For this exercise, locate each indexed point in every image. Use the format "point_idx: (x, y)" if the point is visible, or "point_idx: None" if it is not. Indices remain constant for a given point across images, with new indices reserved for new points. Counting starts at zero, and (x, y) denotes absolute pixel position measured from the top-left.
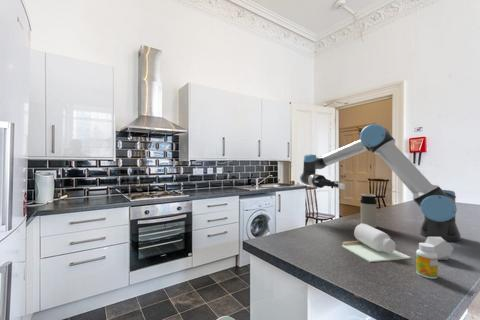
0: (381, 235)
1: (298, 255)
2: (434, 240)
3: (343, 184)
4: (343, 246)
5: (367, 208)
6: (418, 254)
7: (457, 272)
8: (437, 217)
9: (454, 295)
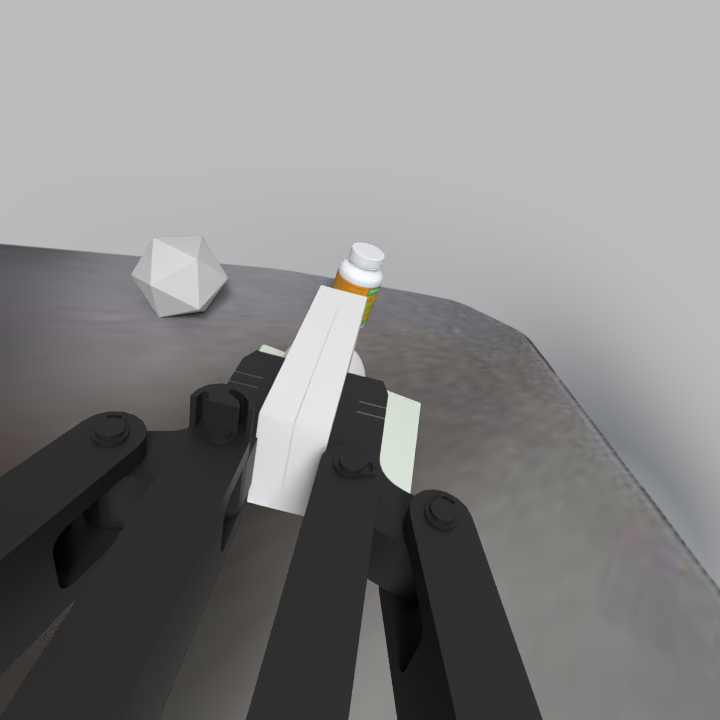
0: None
1: (637, 562)
2: (205, 255)
3: (354, 300)
4: None
5: None
6: (380, 283)
7: (257, 283)
8: None
9: (385, 292)
